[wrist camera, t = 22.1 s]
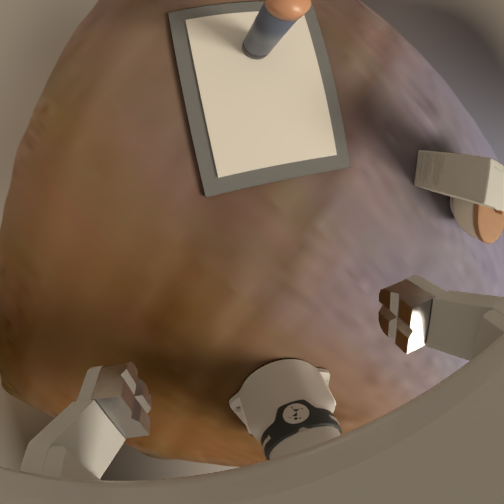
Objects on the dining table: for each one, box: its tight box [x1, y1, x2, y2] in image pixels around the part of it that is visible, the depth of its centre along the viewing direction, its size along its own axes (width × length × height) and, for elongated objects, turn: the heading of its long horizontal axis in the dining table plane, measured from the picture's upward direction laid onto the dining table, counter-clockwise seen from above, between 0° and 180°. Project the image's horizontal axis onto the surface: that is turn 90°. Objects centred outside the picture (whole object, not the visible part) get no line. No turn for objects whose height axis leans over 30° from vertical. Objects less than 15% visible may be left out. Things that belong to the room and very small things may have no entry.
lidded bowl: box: [450, 197, 504, 244], centre depth 39 cm, size 13×13×11 cm
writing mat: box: [168, 1, 350, 197], centre depth 32 cm, size 26×20×1 cm
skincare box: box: [414, 150, 504, 212], centre depth 34 cm, size 8×7×16 cm
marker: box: [242, 0, 311, 60], centre depth 23 cm, size 4×4×14 cm
